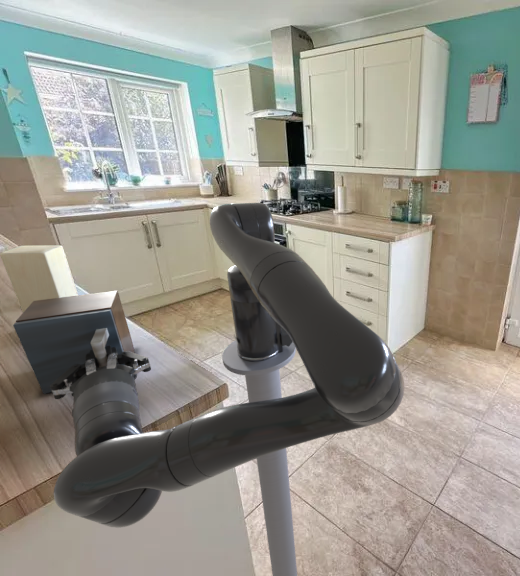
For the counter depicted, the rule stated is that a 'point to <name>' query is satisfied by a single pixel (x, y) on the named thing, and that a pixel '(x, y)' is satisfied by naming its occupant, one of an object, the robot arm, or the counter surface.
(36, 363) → the door
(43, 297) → the cream rectangular block
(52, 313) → the cupboard
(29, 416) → the counter surface
